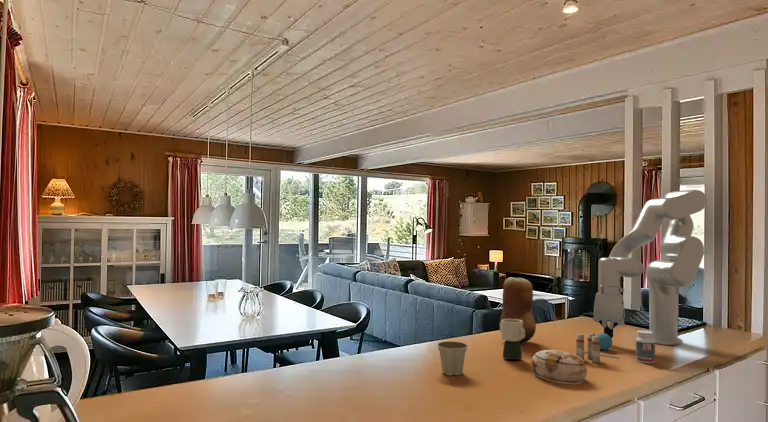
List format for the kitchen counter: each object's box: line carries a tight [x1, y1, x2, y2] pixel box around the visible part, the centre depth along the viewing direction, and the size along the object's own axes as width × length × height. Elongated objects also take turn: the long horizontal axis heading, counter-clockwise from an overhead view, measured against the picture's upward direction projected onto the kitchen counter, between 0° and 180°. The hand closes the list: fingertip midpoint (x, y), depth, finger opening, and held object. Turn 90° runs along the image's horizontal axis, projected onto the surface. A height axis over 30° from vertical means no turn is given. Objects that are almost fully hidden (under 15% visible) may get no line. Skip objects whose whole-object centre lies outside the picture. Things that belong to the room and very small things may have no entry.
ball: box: [595, 332, 613, 351], centre depth 178 cm, size 6×6×6 cm
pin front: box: [586, 332, 596, 361], centre depth 166 cm, size 2×2×8 cm
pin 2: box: [591, 335, 601, 365], centre depth 161 cm, size 2×2×8 cm
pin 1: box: [575, 333, 585, 361], centre depth 164 cm, size 2×2×8 cm
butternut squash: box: [498, 276, 537, 345], centre depth 189 cm, size 14×13×25 cm
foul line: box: [584, 351, 620, 359], centre depth 171 cm, size 1×14×1 cm, turn 52°
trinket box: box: [531, 349, 588, 385], centre depth 146 cm, size 13×15×8 cm
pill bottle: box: [635, 329, 656, 364], centre depth 163 cm, size 6×6×10 cm
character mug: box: [499, 319, 525, 361], centre depth 166 cm, size 11×7×13 cm, turn 32°
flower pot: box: [436, 340, 469, 377], centre depth 150 cm, size 9×9×9 cm
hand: (608, 338), depth 185 cm, fingers closed
